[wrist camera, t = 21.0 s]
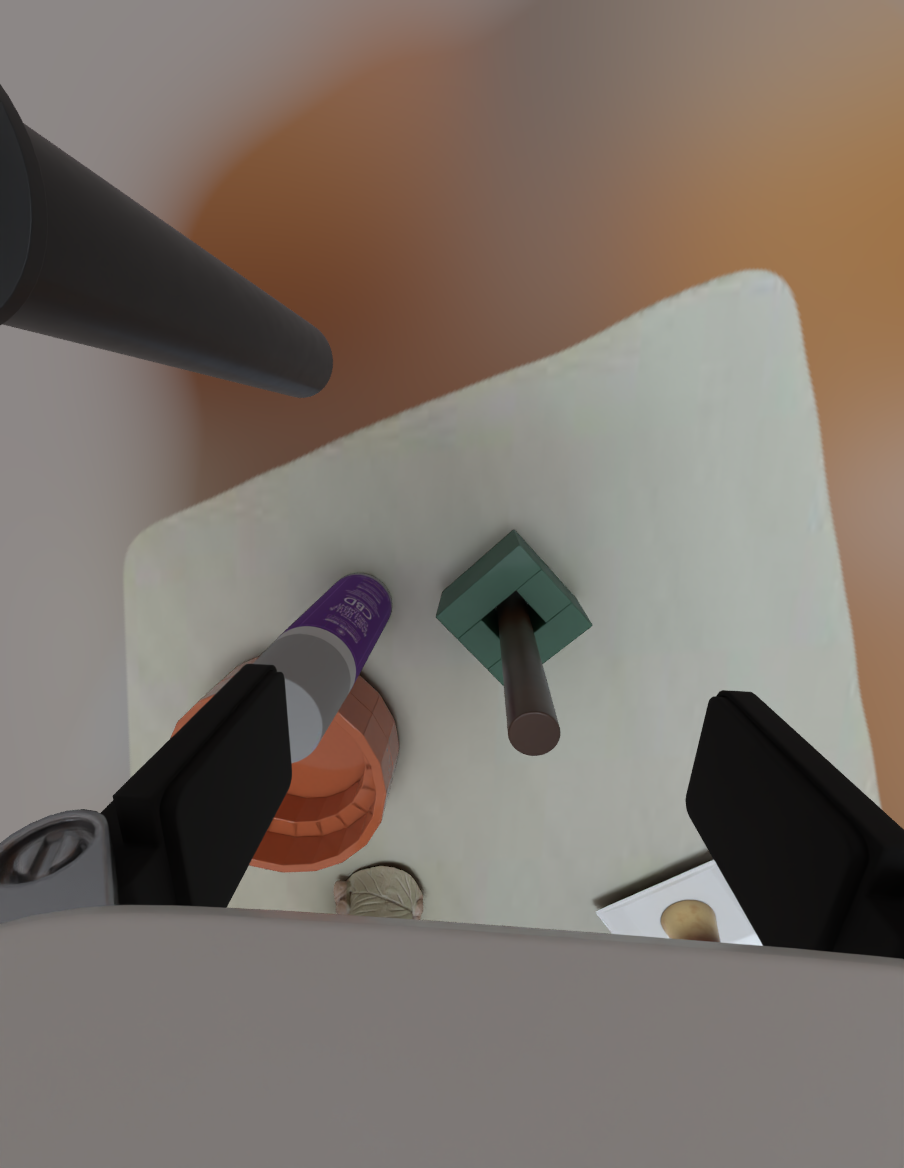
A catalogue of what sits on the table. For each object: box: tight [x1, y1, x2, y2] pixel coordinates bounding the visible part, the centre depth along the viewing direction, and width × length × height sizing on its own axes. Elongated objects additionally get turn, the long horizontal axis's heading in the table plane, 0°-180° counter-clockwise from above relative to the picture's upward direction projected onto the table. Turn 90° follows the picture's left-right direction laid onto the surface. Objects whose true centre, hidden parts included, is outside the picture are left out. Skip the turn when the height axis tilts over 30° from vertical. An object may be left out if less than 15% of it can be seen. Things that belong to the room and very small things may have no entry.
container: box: [253, 573, 392, 763], centre depth 27 cm, size 5×5×15 cm
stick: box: [497, 591, 560, 756], centre depth 25 cm, size 2×2×16 cm
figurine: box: [334, 866, 423, 920], centre depth 33 cm, size 9×8×20 cm
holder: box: [436, 530, 592, 686], centre depth 30 cm, size 7×7×5 cm
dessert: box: [596, 859, 763, 946], centre depth 38 cm, size 12×12×5 cm
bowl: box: [170, 656, 399, 872], centre depth 34 cm, size 15×15×6 cm
